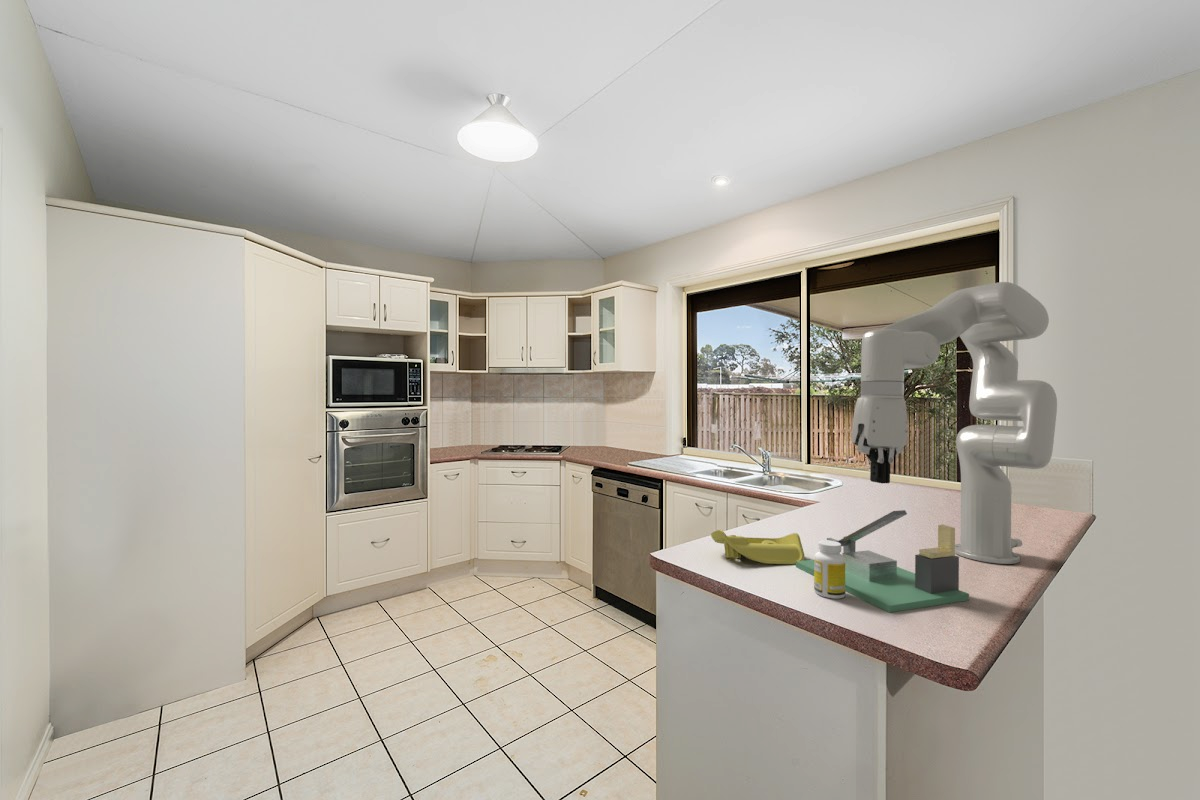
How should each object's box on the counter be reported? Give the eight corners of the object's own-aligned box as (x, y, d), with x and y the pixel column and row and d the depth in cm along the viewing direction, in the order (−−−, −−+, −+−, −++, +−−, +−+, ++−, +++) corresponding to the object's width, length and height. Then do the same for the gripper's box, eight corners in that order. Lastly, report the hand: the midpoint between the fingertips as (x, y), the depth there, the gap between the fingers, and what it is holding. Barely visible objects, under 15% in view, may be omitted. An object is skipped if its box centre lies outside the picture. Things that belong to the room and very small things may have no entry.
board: (863, 559, 112) (864, 532, 113) (968, 600, 90) (969, 565, 90) (796, 566, 107) (796, 538, 107) (889, 612, 84) (889, 575, 84)
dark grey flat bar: (846, 546, 107) (844, 542, 108) (907, 514, 93) (904, 509, 94) (835, 547, 107) (833, 543, 107) (895, 515, 92) (892, 510, 93)
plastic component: (778, 539, 121) (801, 531, 112) (783, 570, 118) (807, 564, 109) (704, 536, 118) (721, 528, 109) (707, 567, 114) (725, 562, 106)
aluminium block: (868, 566, 104) (868, 550, 104) (896, 577, 97) (896, 560, 97) (842, 569, 102) (842, 553, 102) (869, 581, 95) (869, 563, 95)
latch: (942, 552, 94) (942, 524, 94) (954, 555, 92) (955, 527, 92) (919, 554, 92) (919, 526, 92) (931, 558, 90) (931, 529, 90)
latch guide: (942, 583, 94) (942, 551, 94) (958, 589, 91) (958, 556, 91) (915, 587, 92) (915, 554, 92) (930, 593, 89) (931, 560, 89)
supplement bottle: (849, 594, 92) (849, 543, 92) (839, 602, 88) (839, 548, 88) (820, 586, 96) (820, 537, 96) (809, 593, 92) (809, 542, 92)
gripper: (894, 393, 103) (892, 478, 102) (837, 390, 98) (835, 480, 98) (927, 392, 95) (925, 484, 95) (867, 389, 91) (865, 486, 91)
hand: (879, 482), depth 97 cm, fingers closed
